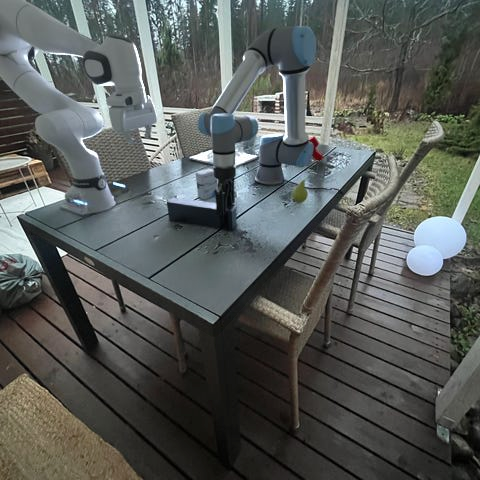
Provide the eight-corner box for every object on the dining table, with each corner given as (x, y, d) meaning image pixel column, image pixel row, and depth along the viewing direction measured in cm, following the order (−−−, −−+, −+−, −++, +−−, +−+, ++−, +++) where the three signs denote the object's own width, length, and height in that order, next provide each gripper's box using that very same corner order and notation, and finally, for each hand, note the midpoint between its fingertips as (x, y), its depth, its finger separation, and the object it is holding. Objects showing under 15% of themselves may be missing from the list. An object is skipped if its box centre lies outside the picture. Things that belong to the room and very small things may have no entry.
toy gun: (327, 156, 170) (314, 135, 166) (326, 157, 167) (314, 136, 163) (301, 171, 180) (289, 151, 176) (301, 173, 177) (288, 153, 173)
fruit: (288, 200, 123) (290, 174, 116) (302, 197, 125) (305, 172, 119) (296, 206, 118) (299, 179, 111) (310, 203, 120) (314, 177, 114)
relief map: (231, 168, 161) (231, 160, 158) (189, 159, 179) (189, 151, 176) (257, 158, 179) (257, 150, 176) (217, 150, 197) (216, 142, 194)
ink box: (211, 191, 132) (209, 167, 125) (218, 194, 129) (216, 170, 122) (197, 196, 127) (194, 172, 120) (204, 199, 124) (201, 174, 117)
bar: (236, 225, 104) (236, 205, 100) (232, 231, 100) (231, 211, 96) (175, 215, 111) (172, 197, 107) (169, 220, 108) (166, 201, 103)
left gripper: (142, 94, 97) (149, 134, 105) (101, 100, 81) (113, 147, 89) (157, 94, 96) (164, 135, 103) (119, 101, 79) (129, 149, 87)
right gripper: (223, 156, 98) (225, 214, 111) (202, 172, 84) (208, 235, 97) (243, 158, 96) (243, 216, 109) (225, 174, 82) (227, 239, 95)
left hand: (140, 141), depth 96 cm, fingers open, 8 cm apart
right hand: (226, 225), depth 103 cm, fingers closed on bar, 5 cm apart
